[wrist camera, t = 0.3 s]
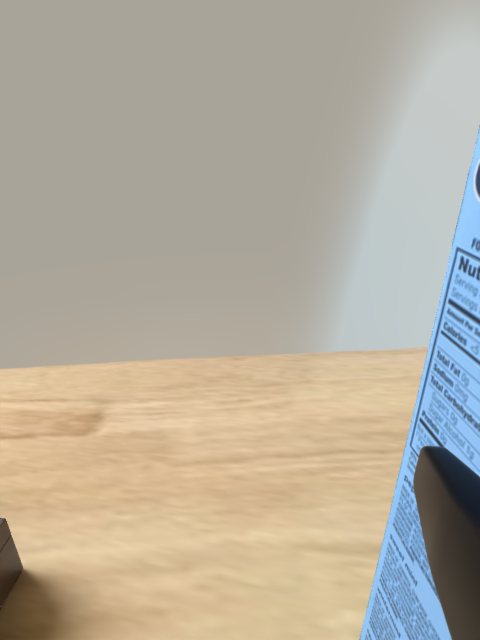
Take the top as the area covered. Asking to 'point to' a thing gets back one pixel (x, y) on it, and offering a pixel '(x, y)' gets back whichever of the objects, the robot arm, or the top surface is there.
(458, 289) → the gum box
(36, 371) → the top surface
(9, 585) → the walnut shelf
